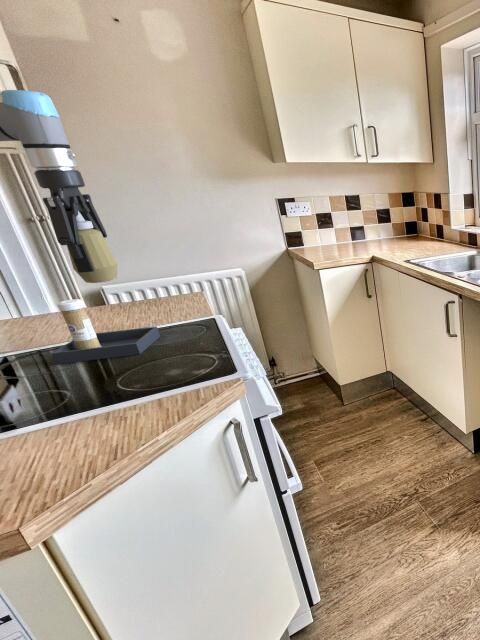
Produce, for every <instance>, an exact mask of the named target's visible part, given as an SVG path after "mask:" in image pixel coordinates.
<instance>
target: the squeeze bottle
mask: <svg viewBox="0 0 480 640" xmlns="http://www.w3.org/2000/svg"><path fill="white" fill-rule="evenodd" d="M76 219H77V226H78V232H79V239H80V244H84V246H85V249H86V251H87V254H88V256H89V259H90V261H91V264H92V266H93V269H94V271H93V272H81V273H79V272H78V270H77V267H76V265H75V263H74V260H73V258H72V256H71V253H70V251H69V248H68V246H67V245H66V247H67V251H68V254H69V258H70V262H71V265H72V268H73V270H74V271H75V272H76V274H77V275H78V276H79V277H80V278H81V279H82V280H83V281H84V282H85V283H86V284H99V283H107V282H111V281H113V280H115V279H117V278H118V262H117V260H116V259H115V257H114V255H113V253H112V251H111V249H110V247H109V245H108V243H107V241H106V239H105V238H104V237H103V235H102V234H101V232H100V231H98V230H95V229H91V228H94V227H93V224H92V222H91V221H85V220H84V218H83V217H82V215H81V214H80V212H79V211H78V216H76Z"/></svg>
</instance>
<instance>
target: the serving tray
mask: <svg viewBox="0 0 480 640" xmlns="http://www.w3.org/2000/svg"><path fill="white" fill-rule="evenodd" d="M95 333H96V336H97V339H98V341H99V343H100V345H101V347H97V348H89V349H80V350H78V348H77V346H76V344H75V342H74V340H73V339H72V340H71V341H69V342H67V343H66V344H64V345H63V346H61V347H59V348H58V349H56V350H55V351H53V352H51V353H50V354H51V357H52V359H53V361H54V363H55V365H64V364H73V363H80V362H88V361H89V362H90V361H96V360H97V361H98V360H104V359H111V358H120V357H129V356H136V355H141V354H142V353H144V351H145V350H147V349H148V348H149V347H150V346H151V345H152V344H154V343H155V342H156V341H157V340H158V339H159V338H160V337H161V333H160V330H159V329H158V326H152V327H141V328H132V329H121V330H113V331H103V332H95Z"/></svg>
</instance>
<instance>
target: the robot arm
mask: <svg viewBox="0 0 480 640" xmlns="http://www.w3.org/2000/svg"><path fill="white" fill-rule="evenodd" d="M0 96H1V101H2V102H1V101H0V142H20V143H21V146H22V148H23V150H24V153H25V155H26V157H27V160H28V162H29V165H30V167H31V168H32V169H35V171H34V172H33V174H34V176H35V179H36V181H37V183H38V186H39V187H40V188H41V189H48V190H49V192H50V197H42V202H43V203H44V205H45V207H46V209H47V212H48V215H49V218H50V221H51V223H52V227H53V231H54V234H55V237H56V240H57V243H58V244H59V245H60V246H66V247H67V246H68V248H69V251H70V253H71V256H72V258H73V260H74V263H75V265H76V267H77V270H78V272H79V273H81V272H93V271H94V269H93V266H92V264H91V261H90V259H89V256H88V254H87V251H86V249H85V246H84V244H80V239H79V232H78V226H77V219H76V216H78V211H79V212H80V214H81V215H82V217H83V218H84V220H85V221H91V222H92V224H93V227H94V228H91V229H95V230H98V231H100V232H101V234H102V235H103V237H104V239H105V238H108V234H107V231H106V229H105V226H104V225H103V223H102V221H101V219H100V217H99V215H98V212H97V210H96V208H95V206H94V204H93V200H92V198H91V195H90V194H88V193H84V194H82V192H81V190H80V189H79V188H84V187H85V186H86V184H85V181H84V179H83V176H82V173H81V171H79V170H78V169H77V170H76V168H78V163H77V161H76V159H75V158H76V154H75V153H73V151H72V149H71V148H72V147H71V145H70V143H69V140H68V138H67V135H66V133H65V129H64V127H63V123H62V121H61V118H60V117H61V116H60V114H59V113H58V110H57V108H56V106H55V104H54V102H53V100H52V99H51V97H50V96H49V95H47V94H46V93H43V92H40V91H34V90H23V89H5V90H1V92H0ZM68 248H67V249H68ZM69 251H68V252H69Z"/></svg>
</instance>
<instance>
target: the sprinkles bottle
mask: <svg viewBox="0 0 480 640" xmlns="http://www.w3.org/2000/svg"><path fill="white" fill-rule="evenodd" d="M56 305H57V308H58V311H60V313H61V314H62V317H63V318H64V321H65V323H66V325H67V328H68V331H69V333H70V336H71V338H72V340H74V342H75V344H76V346H77V348H78V350H80V349H89V348H97V347H101V345H100V343H99V341H98V339H97V336H96V333H97V332H96V331H95V329H94V326H93V324H92V322H91V319H90V317H89V316H88V314H87V311H86V307H85V303H84V302H83V300H82V299H80V298H73V299H67V300H61V301H58V302H57V303H56Z"/></svg>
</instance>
